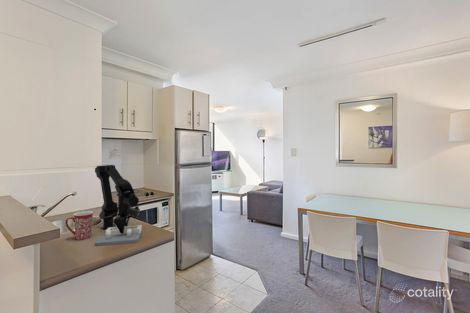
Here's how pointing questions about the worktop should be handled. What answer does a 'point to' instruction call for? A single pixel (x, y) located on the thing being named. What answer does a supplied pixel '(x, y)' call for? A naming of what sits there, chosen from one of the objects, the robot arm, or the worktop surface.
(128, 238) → the peg board
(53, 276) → the worktop surface
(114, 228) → the power strip
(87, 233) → the mug
